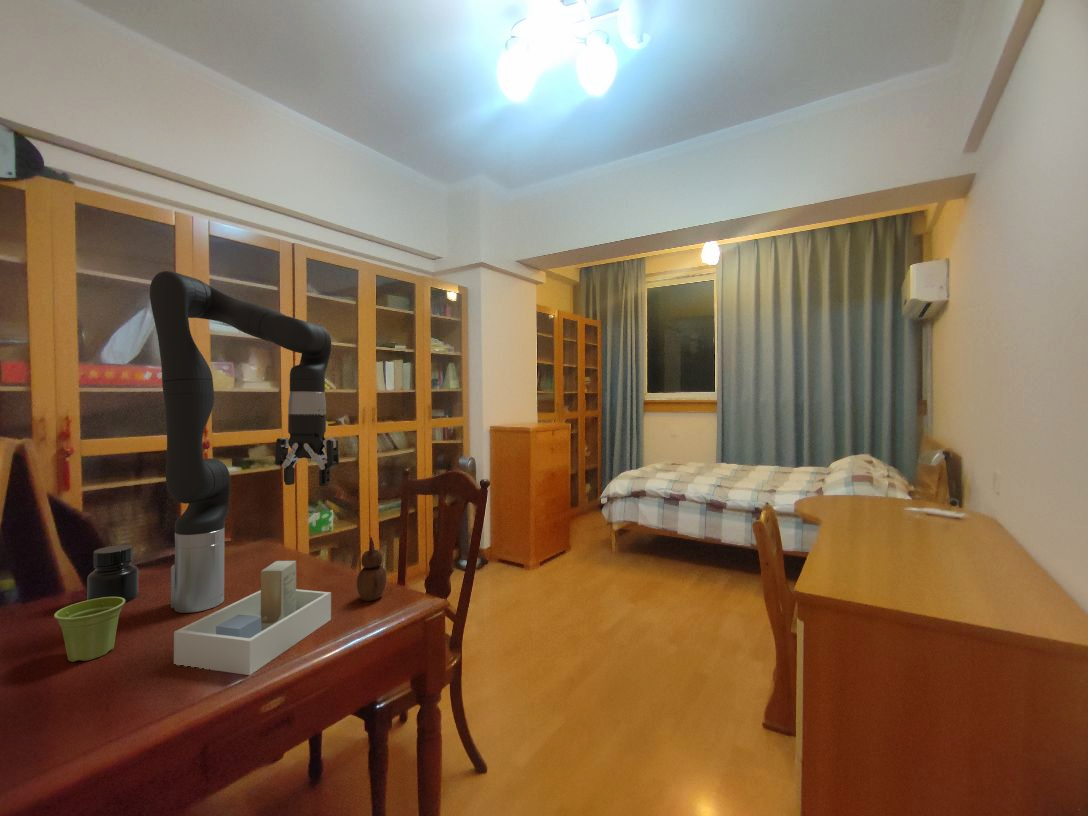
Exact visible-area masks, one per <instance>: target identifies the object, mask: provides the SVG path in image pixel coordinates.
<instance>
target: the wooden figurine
mask: <svg viewBox="0 0 1088 816" xmlns="http://www.w3.org/2000/svg"><path fill="white" fill-rule="evenodd" d="M368 549H369V550H367V551H364V552H363V554H362V555H361V560H360V561H361V563H360V564H361V566H362V567H363V568H362V569H360V572H359V573H358V575H357V578H356V590H357V593H358V595H359V597H360V599H361V600H362V601H366V602H373V601H376V600H378V599H380V597H382V596H383V594H384V591H385V588H386V584H387V573H386V569H385V568H384V566H383V565H381V564H382V563H383V553H382V552H381V551H380V550H377V549H375V543H374V540H373V537H370V538H369V547H368Z"/></svg>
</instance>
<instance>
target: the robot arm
mask: <svg viewBox="0 0 1088 816" xmlns="http://www.w3.org/2000/svg"><path fill="white" fill-rule="evenodd" d="M149 300H150V305H151V313H152V315H153V316H152V317H153V321H154V325H155V330H156V335H157V341H158V349H159V356H160V358H159V359H160V366H161V384H162V396H163V401H164V402H163V403H164V411H165V413H164V414H165V430H166V460H165V463H166V464H165V484H166V489H167V491H168V494H169V496H170V497H172V499H173V500H174V501H176V502H177V503H180V504H188V505H187V507H186V509H185V510H184V512H183V513H182V514H181V515H179V517H178V518H177V519H176V520H175V523H174V564H172V566H171V567H170V609H174V611H175V612H176V613H182V614H186V613H187V614H188V613H189V614H190V613H197V612H202V611H206V610H210V609H212V608H213V609H214V608H215V607H218V606H220V605H221V604H222V603H223V602H224V600H225V525H226V524H225V522H226V518H227V516H228V515H229V512H230V511H229V510H230V509H229V508H230V497H231V475H230V472H229V468H228V466H227V465H226V464H225V462H223V461H221V460H220V459H218V458H217V459H216V458H204V450H203V437H204V431H205V429H206V427H207V424H208V422H209V419H210V416H211V414H212V411H213V410H214V409H213V408H214V404H215V388H214V381H213V380H214V379H213V374H212V373H213V372H212V371H211V367H210V365H209V364H208V362H207V360H206V359H205V357H204V355H203V354H202V352H201V351H200V349H199V348H198V346H197V344H196V343H195V340H194V339H193V335H192V332H191V328H190V320H189V318H190V319H201V320H209V321H216V322H220V323H223V324H226V325H229V326H231V327H233V328H235V329H237V330H238V331H240V332H242V333H244V334H247V335H248V336H251V337H254V338H257V339H260V340H264V341H265V342H269V343H273V344H275V345H277V346H279V347H281V348H282V349H285V350H288V351H290V352H293V353H298V354H301V355H300V360H299V364H297V365H293V366H292V367H291V369H290V370H289V396H288V403H287V433H288V434H289V438H288V437H279V438H277V439H276V440H275V441H276V442H275V459H274V464H275V465H276V466H281V467H282V468H283V482H284V484H285V485H286V486H293V485H295V483H296V468H295V466H296V464H297V463H298V461H299V460H301V459H307V460H308V459H310V460H313V462H315V463H316V464H317V465H318V467H319V471H318V473H319V474H318V479H319V480H318V485H319V487H320V488H323V487H328V485H329V484H330V482H331V468H333V467H338V466H339V465H340V459H339V458H340V455H339V440H338V439H337V438H331V439H326V438H325V433H326V431H327V428H326V427H327V402H326V394H325V393H326V389H325V388H326V376H325V375H326V371H327V368H328V364H329V359H330V356H331V352H332V337H331V335H330V332H329V331H328V330H327V329H326V328H325V327H323V326H322V325H319V324H315V323H312V322H308V321H305V320H302V319H299V318H295V317H292V316H288V315H285V314H284V313H282V312H279V311H277V310H275V309H271V308H268V307H265V306H263V305H259V304H256V303H252V302H247V301H244V300H240V299H238V298H234V297H232V296H229V295H228V294H225V293H224V292H221V291H220V290H218V289H216V288H215V287H213V286H211V285H209V284H207V283H205V282H204V281H202V280H200V279H198V278H195V277H192V276H188V275H186V274H182V273H179V272H175V271H172V270H171V271H169V270H164V271H160V272H158V273H156V274H155V276H154V277H153V278H152V279H151V281H150V286H149ZM324 448H325V449H326V451H325V450H324ZM289 449H290V450H289Z"/></svg>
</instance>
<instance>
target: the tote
mask: <svg viewBox="0 0 1088 816" xmlns="http://www.w3.org/2000/svg"><path fill="white" fill-rule="evenodd" d="M237 615H248V616H258V617H261V589H260V590H258V591H256V592H254V593H252V594H250V595H248V596H245V597H243V598H241V599H240V600H237V601H236V602H233V603H231V604H229V605H227V606H225V607H223V608H221V609H219V610H216V611H214V612H212V613H210V614H207V615H206V616H204V617H202V618H200V619H198V620H196V621H194V622H191V623H190V624H187V625H185V626H183V627H181V628H179V629H177V630H175V631H173V665H174V664H176V665H175V666H180V665H184V666H183V667H187V666H191V667H190V668H194V667H199V668H198V669H202V668H204V669H203V670H209V669H210V671H218V672H224V673H232V674H239V675H244V676H251V675H252V674H254V673H255V672H256V671H258V670H259V669H261V668H262V667H264V666H265V665H267V664H268V663H270V662H271V661H273V660H274V659H275V658H277V657H279V656H280V655H281V654H283V653H284V652H285V651H287V650H289V649H290V648H291V647H293V646H295V645H296V644H298V643H299V642H300V641H302V640H303V639H305V638H306V637H308V636H309V635H310V634H312V633H314V632H315V631H316V630H318V629H319V628H321V627H322V626H324V625H325V624H326V623H328V622H330V621H331V620H332V591H331V592H329V591H319V590H309V589H308V590H307V589H298V588H296V611H295V612H293V613H292V614H290V615H288V616H287V617H285V618H283V619H282V620H280V621H278V622H277V623H275V624H273V625H271V626H270V627H268V628H266V629H265V630H263V631H261V632H260V633H258V634H256V635H255V636H253V637H251V638H243V637H235V636H226V635H218V634H216V626H217V625H219V624H221V623H223V622H225V621H227V620H229V619H231V618H233V617H235V616H237Z"/></svg>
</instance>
